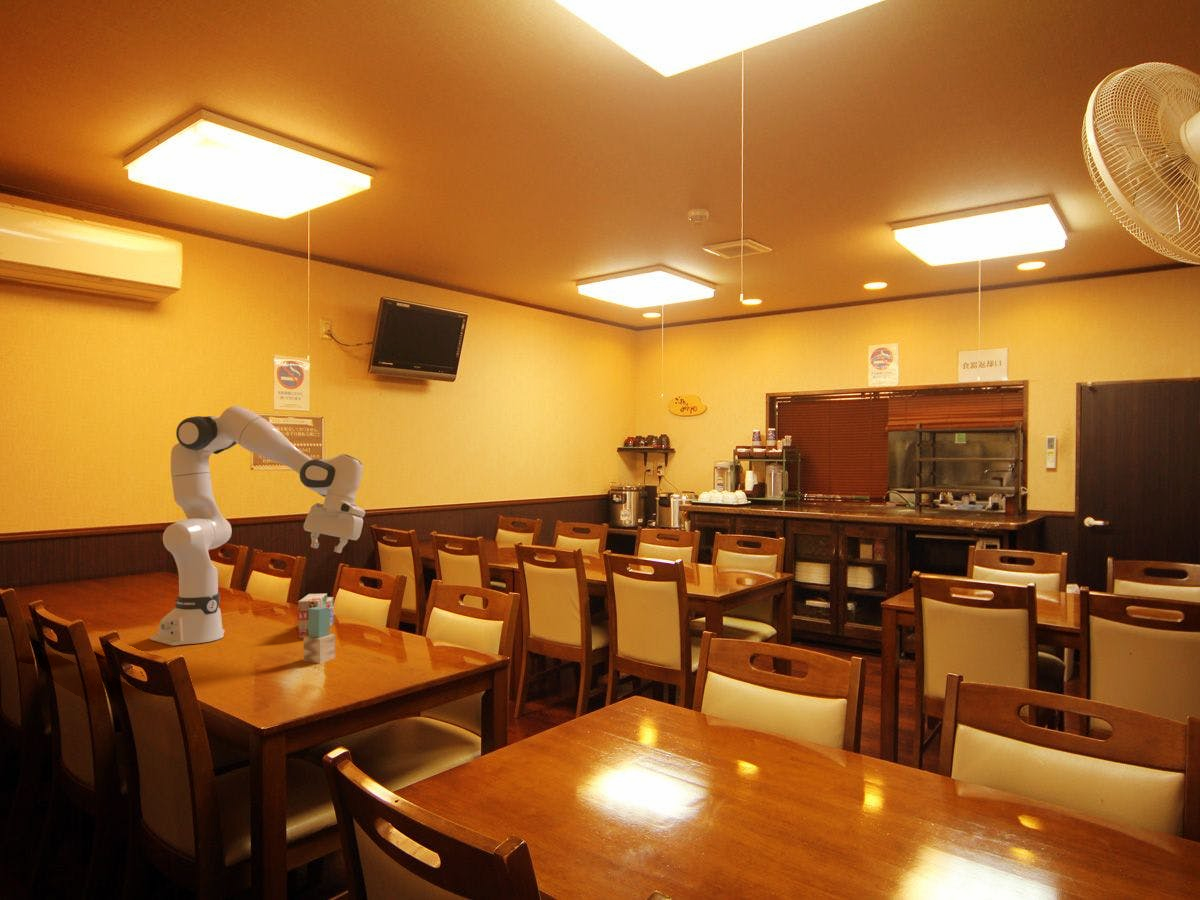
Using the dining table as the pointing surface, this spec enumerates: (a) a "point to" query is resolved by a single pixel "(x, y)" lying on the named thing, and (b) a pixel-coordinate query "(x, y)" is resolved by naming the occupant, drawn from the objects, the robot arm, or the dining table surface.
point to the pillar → (318, 621)
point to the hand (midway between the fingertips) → (325, 550)
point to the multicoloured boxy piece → (311, 602)
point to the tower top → (319, 643)
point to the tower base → (319, 655)
